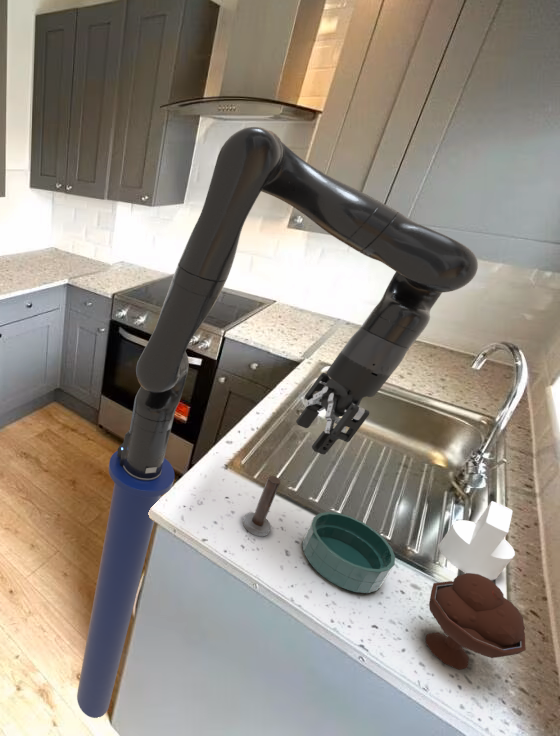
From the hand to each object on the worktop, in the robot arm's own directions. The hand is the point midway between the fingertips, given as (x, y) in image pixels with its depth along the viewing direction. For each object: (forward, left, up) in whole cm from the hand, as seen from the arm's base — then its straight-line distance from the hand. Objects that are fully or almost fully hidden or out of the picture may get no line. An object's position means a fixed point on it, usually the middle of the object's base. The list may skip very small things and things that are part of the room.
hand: (308, 438), depth 76 cm
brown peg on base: (-3, +1, -25) cm, 25 cm away
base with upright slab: (+32, +22, -25) cm, 47 cm away
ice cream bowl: (+28, -4, -25) cm, 38 cm away
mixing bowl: (+12, +3, -25) cm, 28 cm away
